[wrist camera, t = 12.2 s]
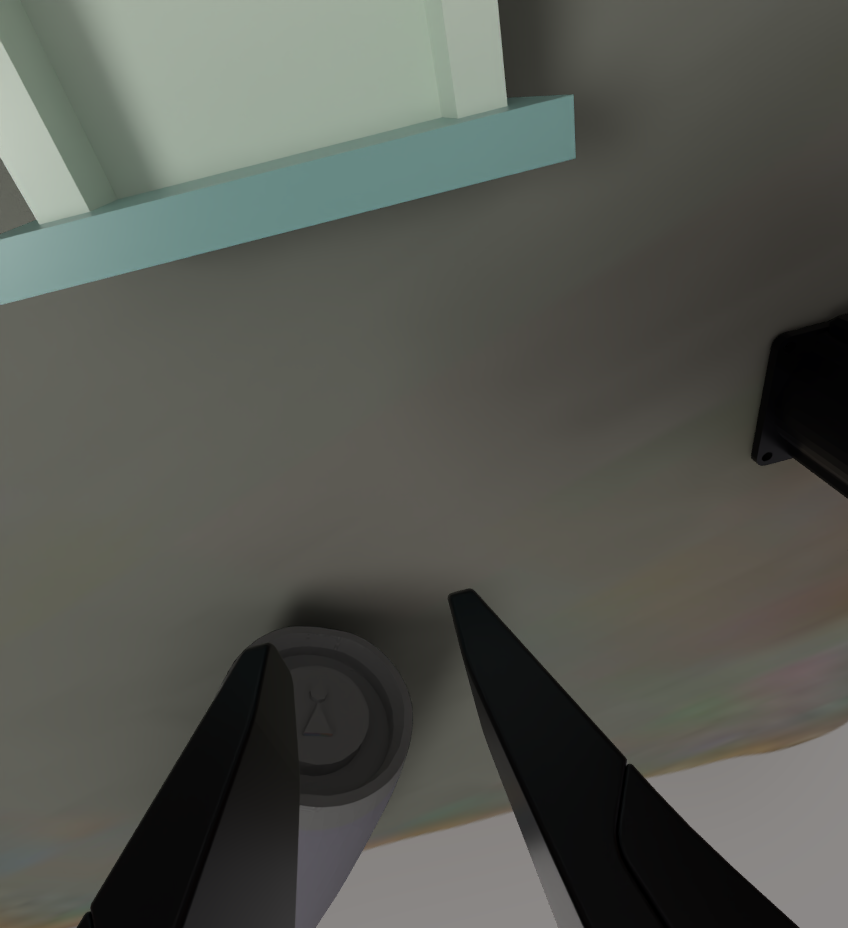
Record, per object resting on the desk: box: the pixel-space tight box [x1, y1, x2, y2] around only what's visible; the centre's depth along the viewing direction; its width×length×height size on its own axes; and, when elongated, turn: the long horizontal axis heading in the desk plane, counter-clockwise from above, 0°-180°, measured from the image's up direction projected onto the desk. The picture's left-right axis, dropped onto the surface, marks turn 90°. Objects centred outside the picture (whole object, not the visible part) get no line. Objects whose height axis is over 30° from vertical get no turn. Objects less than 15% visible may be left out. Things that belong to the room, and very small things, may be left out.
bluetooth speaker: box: [216, 626, 413, 928], centre depth 28 cm, size 23×9×10 cm, turn 160°
